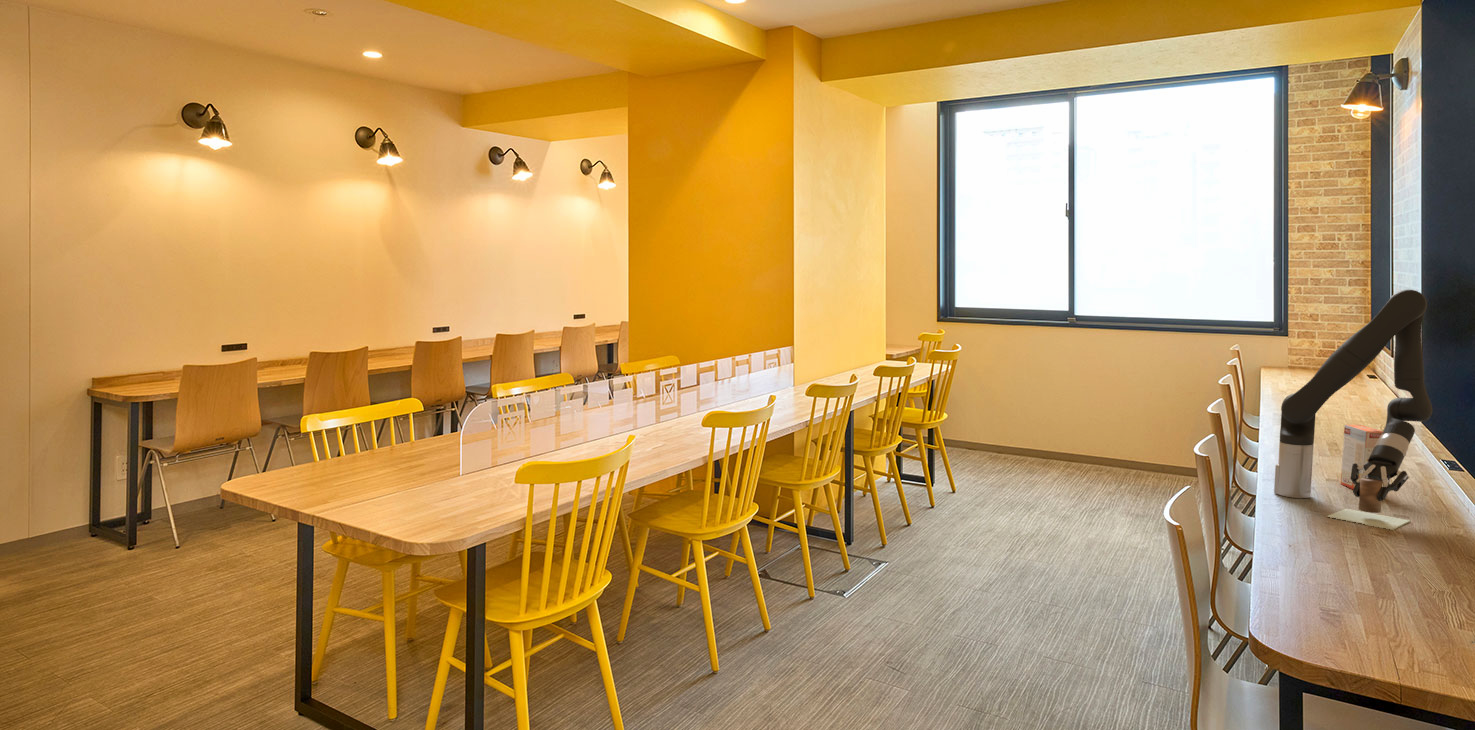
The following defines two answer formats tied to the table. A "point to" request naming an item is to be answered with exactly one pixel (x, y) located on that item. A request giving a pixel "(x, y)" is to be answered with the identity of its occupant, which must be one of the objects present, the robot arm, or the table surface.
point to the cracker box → (1357, 449)
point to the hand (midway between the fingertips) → (1367, 497)
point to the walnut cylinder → (1369, 495)
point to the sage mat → (1369, 519)
